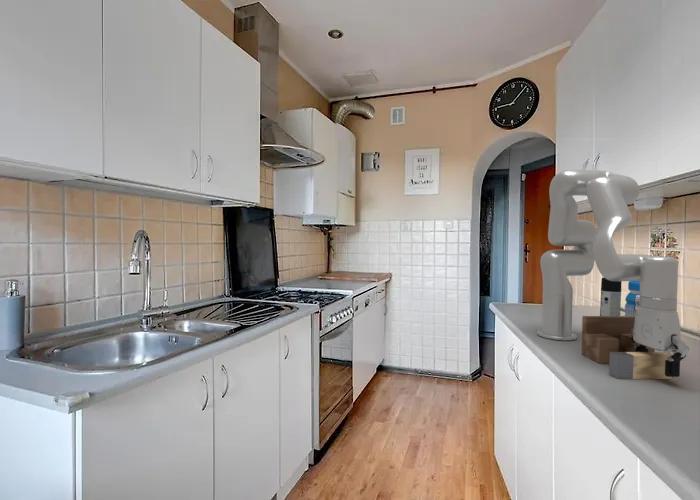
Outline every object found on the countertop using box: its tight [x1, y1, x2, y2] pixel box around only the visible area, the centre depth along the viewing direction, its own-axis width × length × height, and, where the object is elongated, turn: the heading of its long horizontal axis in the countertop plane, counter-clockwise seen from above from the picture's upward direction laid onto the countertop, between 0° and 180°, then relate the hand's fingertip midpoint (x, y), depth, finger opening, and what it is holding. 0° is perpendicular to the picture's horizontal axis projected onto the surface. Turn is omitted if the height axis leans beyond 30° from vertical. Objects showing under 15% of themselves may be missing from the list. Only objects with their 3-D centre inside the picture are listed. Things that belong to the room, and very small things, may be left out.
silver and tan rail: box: [608, 351, 673, 380], centre depth 97 cm, size 14×3×6 cm, turn 90°
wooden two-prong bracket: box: [581, 315, 656, 364], centre depth 111 cm, size 8×16×12 cm, turn 90°
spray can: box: [599, 277, 623, 316], centre depth 148 cm, size 7×7×20 cm
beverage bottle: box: [624, 281, 640, 316], centre depth 136 cm, size 8×8×20 cm
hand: (656, 369), depth 97 cm, fingers open, 9 cm apart
